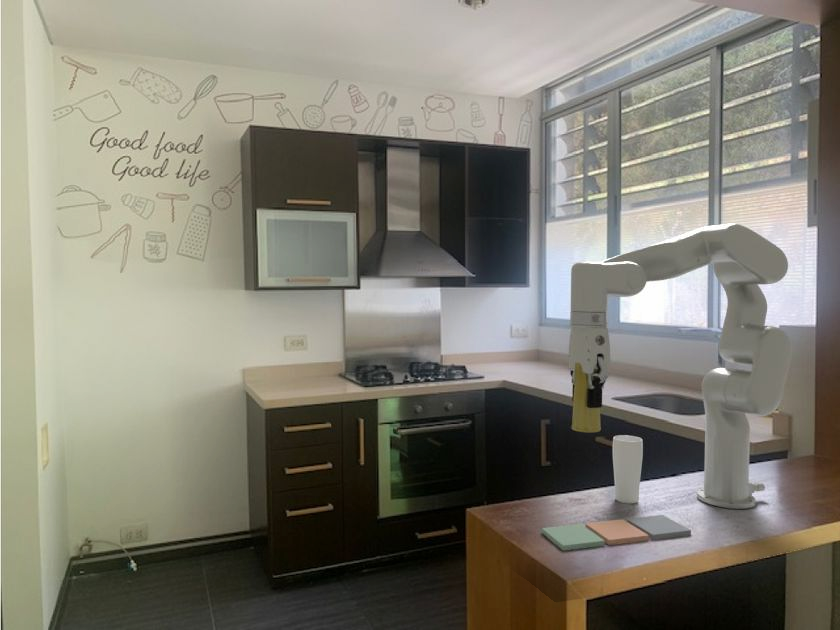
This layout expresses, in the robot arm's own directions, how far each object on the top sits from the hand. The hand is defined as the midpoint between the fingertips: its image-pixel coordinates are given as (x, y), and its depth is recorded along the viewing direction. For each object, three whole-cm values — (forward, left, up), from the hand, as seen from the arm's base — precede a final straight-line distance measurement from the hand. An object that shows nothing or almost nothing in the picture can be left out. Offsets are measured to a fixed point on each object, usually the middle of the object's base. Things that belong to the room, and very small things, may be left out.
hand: (586, 404), depth 132 cm
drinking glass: (-17, -10, -26) cm, 32 cm away
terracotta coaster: (-3, +7, -26) cm, 27 cm away
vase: (0, 0, -6) cm, 6 cm away
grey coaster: (-13, +7, -26) cm, 30 cm away
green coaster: (+7, +7, -26) cm, 28 cm away
